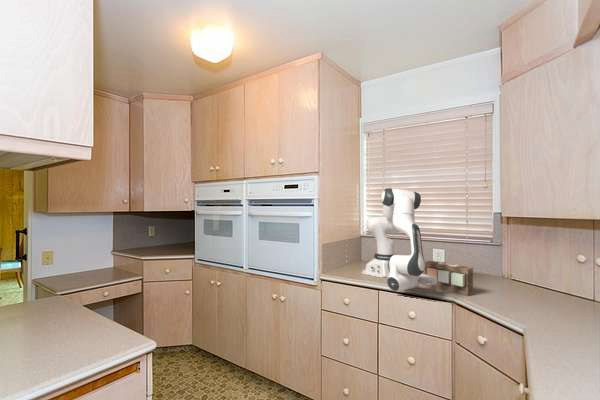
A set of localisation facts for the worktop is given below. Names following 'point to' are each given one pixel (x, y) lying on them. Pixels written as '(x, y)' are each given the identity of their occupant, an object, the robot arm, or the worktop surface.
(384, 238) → the robot arm
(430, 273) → the key left
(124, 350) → the worktop surface
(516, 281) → the worktop surface
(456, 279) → the key right
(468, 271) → the keypad console
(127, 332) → the worktop surface
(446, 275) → the key middle
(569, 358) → the worktop surface
